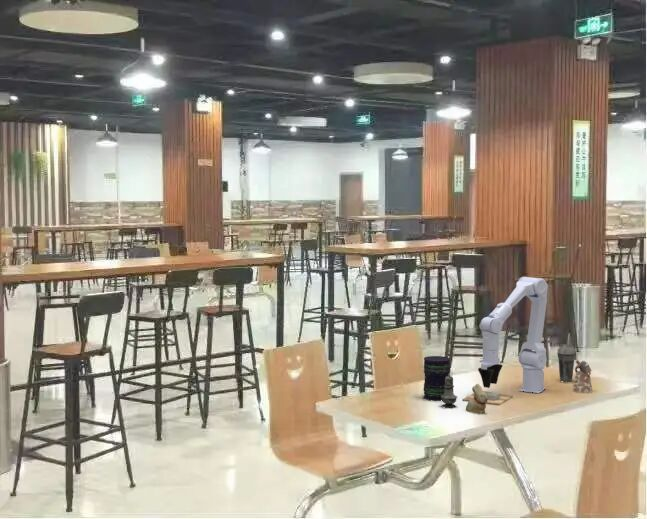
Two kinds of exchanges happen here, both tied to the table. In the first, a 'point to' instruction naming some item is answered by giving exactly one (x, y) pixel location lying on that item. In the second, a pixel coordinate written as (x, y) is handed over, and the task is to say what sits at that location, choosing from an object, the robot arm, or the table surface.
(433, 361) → the storage jar
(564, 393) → the table surface
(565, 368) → the beverage cup
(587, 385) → the figurine
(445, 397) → the salt shaker
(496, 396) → the tile
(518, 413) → the table surface
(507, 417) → the table surface
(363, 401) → the table surface
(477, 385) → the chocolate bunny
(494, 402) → the wooden board
